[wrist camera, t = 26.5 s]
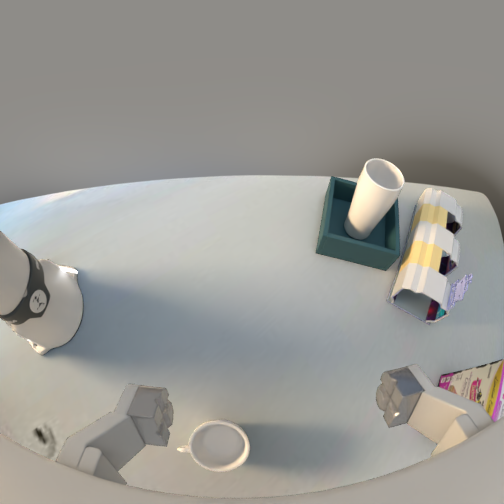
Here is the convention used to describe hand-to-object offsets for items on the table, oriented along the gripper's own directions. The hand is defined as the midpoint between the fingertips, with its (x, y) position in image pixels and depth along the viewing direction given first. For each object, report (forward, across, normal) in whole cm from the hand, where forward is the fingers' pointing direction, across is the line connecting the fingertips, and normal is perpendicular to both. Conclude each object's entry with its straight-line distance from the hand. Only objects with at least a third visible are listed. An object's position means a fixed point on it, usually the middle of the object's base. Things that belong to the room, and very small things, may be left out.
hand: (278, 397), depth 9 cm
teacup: (+17, +7, +28) cm, 33 cm away
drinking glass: (+40, -20, +3) cm, 45 cm away
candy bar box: (+16, -31, +28) cm, 45 cm away
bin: (+41, -20, +3) cm, 46 cm away
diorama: (+36, -34, +8) cm, 50 cm away
